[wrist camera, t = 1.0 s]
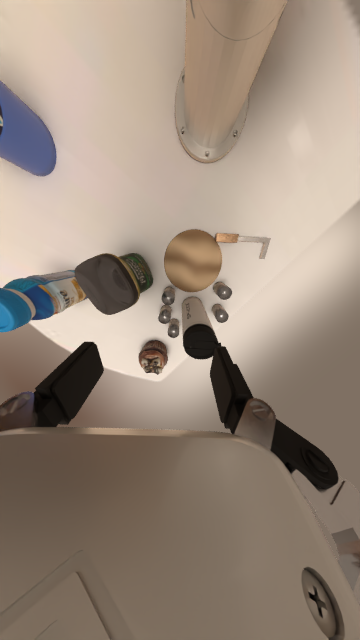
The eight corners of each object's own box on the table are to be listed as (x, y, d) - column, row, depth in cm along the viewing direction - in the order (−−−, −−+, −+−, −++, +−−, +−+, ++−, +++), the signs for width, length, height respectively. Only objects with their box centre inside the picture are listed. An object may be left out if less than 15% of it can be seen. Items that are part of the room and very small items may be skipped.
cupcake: (138, 340, 47) (128, 361, 38) (165, 336, 46) (161, 356, 37) (146, 361, 51) (139, 384, 42) (171, 357, 50) (169, 379, 41)
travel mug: (202, 316, 42) (218, 362, 25) (181, 315, 42) (182, 361, 25) (204, 296, 40) (224, 333, 22) (182, 295, 40) (184, 332, 22)
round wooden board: (163, 228, 32) (163, 227, 32) (226, 231, 32) (227, 231, 32) (164, 290, 39) (164, 290, 38) (216, 292, 39) (216, 293, 39)
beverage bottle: (70, 262, 36) (-42, 273, 18) (99, 284, 38) (27, 313, 20) (57, 285, 38) (-51, 314, 20) (85, 305, 41) (11, 346, 23)
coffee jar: (158, 283, 38) (140, 308, 21) (133, 294, 39) (100, 325, 23) (140, 248, 34) (102, 244, 17) (114, 261, 35) (56, 270, 19)
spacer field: (160, 279, 37) (157, 283, 32) (227, 282, 38) (235, 287, 32) (161, 328, 44) (159, 338, 39) (217, 330, 45) (223, 340, 39)
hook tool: (212, 256, 35) (214, 256, 33) (215, 234, 33) (217, 233, 31) (262, 258, 35) (266, 258, 34) (268, 236, 33) (272, 236, 31)
